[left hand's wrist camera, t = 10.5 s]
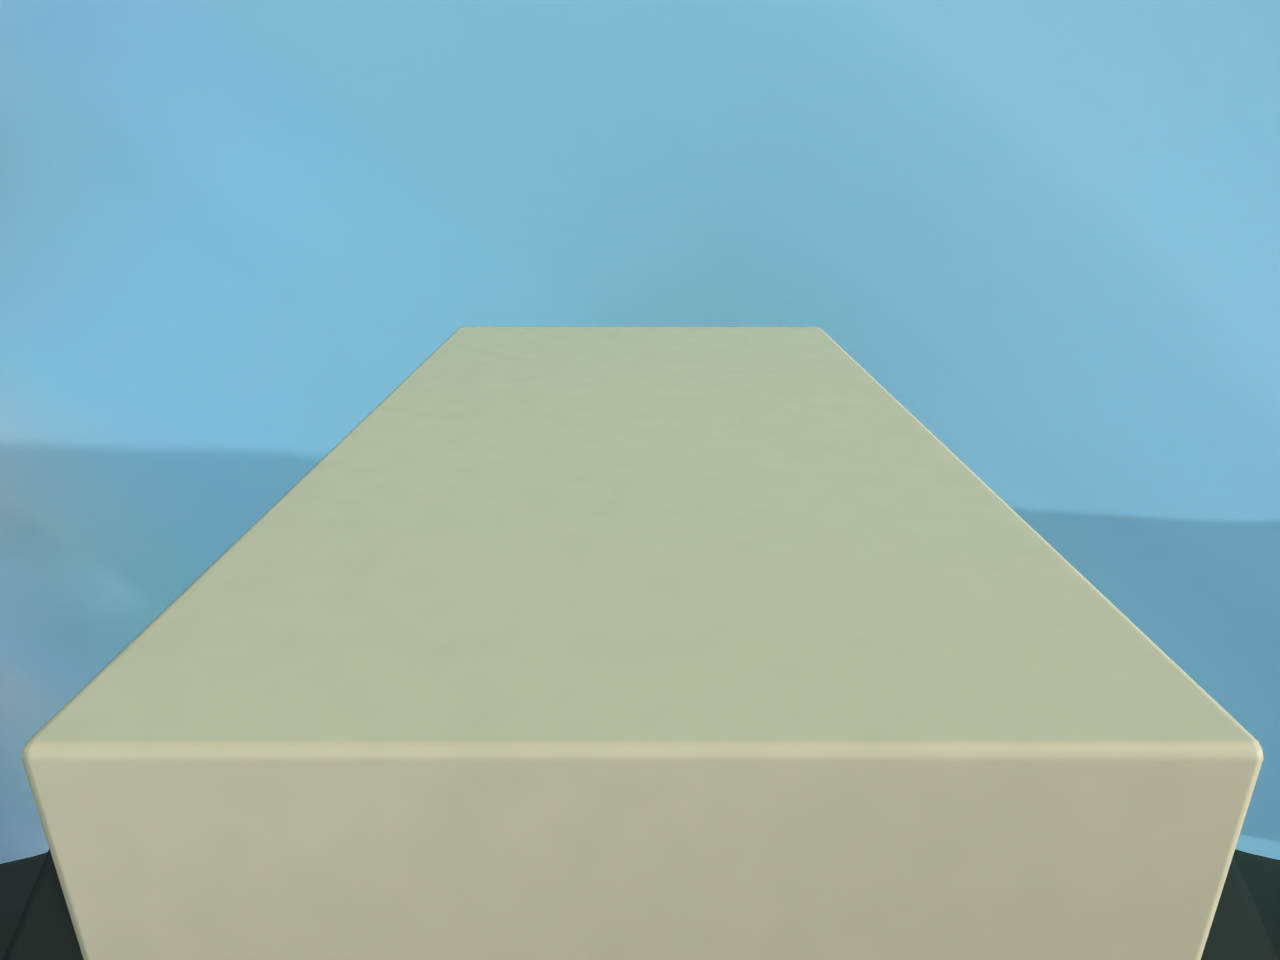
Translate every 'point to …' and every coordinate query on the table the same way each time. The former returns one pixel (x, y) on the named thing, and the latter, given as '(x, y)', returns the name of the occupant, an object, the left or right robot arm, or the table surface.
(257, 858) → the box
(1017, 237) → the table surface
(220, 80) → the table surface
